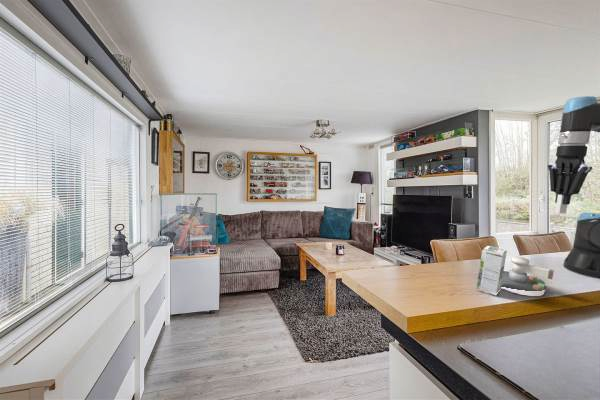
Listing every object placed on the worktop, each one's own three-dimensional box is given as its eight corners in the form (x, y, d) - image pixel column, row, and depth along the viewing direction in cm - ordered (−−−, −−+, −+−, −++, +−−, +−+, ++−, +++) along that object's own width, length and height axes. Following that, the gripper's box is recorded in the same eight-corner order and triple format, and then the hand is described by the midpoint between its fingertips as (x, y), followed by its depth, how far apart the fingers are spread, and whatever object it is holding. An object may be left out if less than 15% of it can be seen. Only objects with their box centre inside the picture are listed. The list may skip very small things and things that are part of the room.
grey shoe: (517, 275, 105) (519, 263, 104) (557, 295, 90) (560, 281, 89) (480, 276, 103) (481, 264, 102) (515, 297, 88) (517, 283, 87)
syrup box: (480, 285, 96) (485, 244, 94) (501, 291, 92) (507, 249, 90) (475, 290, 92) (481, 248, 90) (497, 297, 88) (503, 253, 86)
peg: (508, 271, 96) (510, 258, 95) (511, 267, 99) (513, 255, 98) (550, 282, 88) (553, 269, 87) (552, 277, 91) (555, 265, 90)
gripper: (544, 145, 101) (533, 209, 105) (583, 144, 88) (570, 217, 92) (562, 145, 102) (551, 209, 106) (604, 144, 89) (590, 217, 93)
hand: (560, 212), depth 99 cm, fingers closed
